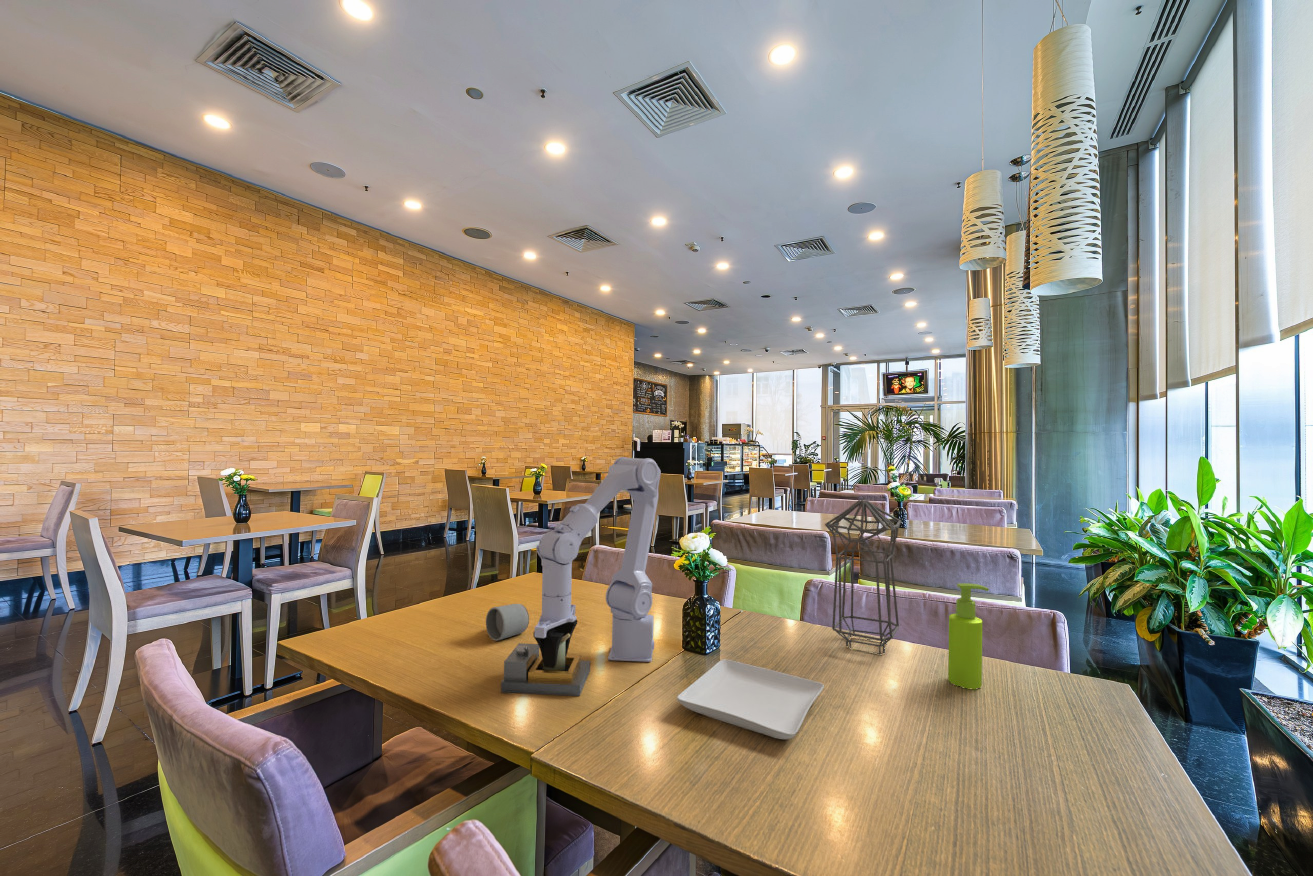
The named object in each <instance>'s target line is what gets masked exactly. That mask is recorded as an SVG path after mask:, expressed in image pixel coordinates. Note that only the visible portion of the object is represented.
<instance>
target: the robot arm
mask: <svg viewBox="0 0 1313 876" xmlns="http://www.w3.org/2000/svg"><path fill="white" fill-rule="evenodd" d="M661 472H662V471H661V469H660V467H659V466H658V463H656V461H655V460H654V459H653V458H649V457H648V458H647V457H646V458H637V457H626V456H620V457H618V458H616V460H615V461H614V462H613V464H612V465H611V464H610V466H609V467H608V473H607V475H606V476H605V477H604V479H603V480H601V483H599V485H598V486H597V488H596V489H595V490H594V492H593V493H591V495H590V496H589V497H588V499H587V501H585V503H578V504H576V505H572V506H571V507H570V508H569V513H568V514H566V516H565V517H564V518H563V519H561V521H560V523H559V524H558V523H557V524H556V525H555V527H554V529H553V530H550V531H547V532H546V533H544V534H543V535H542V537H541V538H540V540H539V542H538V545H536V552H537V554H538V556H539V558H540V559H541V566H542V572H541V573H542V577H541V578H542V579H541V581H542V583H541V615H540V617H539V620H538V622H537V624H536V625H535V626H534V631H533V638H534V639H535V641H536V644H538V645H539V652H540V654H542V659H543V663H544V667H548V668H555V666H556V663H557V656H558V649H559V645H560V642H561V639H562V637H564V636H565V635H566V634H570V637H569V638H568V639H567V640H566V645H565V657H566V655H568V651H569V647H570V643H571V639H572V636H573V633H574V631H575V628H576V627H577V625H578V619H577V615H576V607H577V606H576V604H572V584H573V583H572V575H573V574H572V570H573V569H572V568H573V566H572V565H573V561H574V560H575V559H576V558H577V556H578V554H579V551H580V547H581V544H582V541H583V540H584V539H585V538H586V537H587V535H588V534H589V533H590V532H591V530H593V528H594V527H595V526H596V525H597V524H598V522H599V520H598V519H599V518H598V514H599V513H600V512H601V511H602V510H603V509H604V508H605V507H606V506H607V505H608V504H609V503H610V502H611V501H612V500H613V499H614V498H615V497H616V496H617V495H618V494H619V493H621V491H626V492H627V493H628V494H629V495H630V497H631V499H633V503H632V509H631V514H630V519H629V525H628V532H627V535H626V541H625V546H624V547H625V548H624V551H623V552H624V553H623V558H622V563H621V568H620V569H619V570H618V571H616V572H615V573H614V574H613V575H612V577H611V581H610V585H608V587H607V589H606V593H605V602H606V604H607V606H608V607H609V608H610V613H611V614H612V621H611V622H612V623H611V624H612V628H611V629H612V631H611V633H612V634H611V648H610V651H609V654H608V656H607V660H608V661H619V662H620V661H622V662H624V661H625V662H626V661H627V662H648V663H650V662H652V660H653V652H654V650H655V640H654V623H655V621H654V615H652V614H648V613H649V612H650V611H651V608H652V605H653V594H652V592H653V591H652V589H653V582H652V581H651V579H650V578H649V577H648V575H647V574H646V567H647V563H648V558H649V552H650V547H651V542H652V535H653V530H654V524H655V518H656V512H657V507H658V502H659V485H660V479H661V474H662V473H661Z"/></svg>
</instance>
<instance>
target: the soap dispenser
mask: <svg viewBox="0 0 1313 876" xmlns="http://www.w3.org/2000/svg"><path fill="white" fill-rule="evenodd" d="M956 587H957V588H959V589H960V597H959V598H957V599H956V601H955V602H956V603H955V605H956V606H955V613H952V614H949V615H948V658H947V661H948V666H947V680H948V679H949V680H948V682H949V681H950V682H951V683H950V682H949V683H950V684H952V683H953V684H955V685H954V686H956V685H957V686H956V687H958V686H961V687H964V688H963V689H965V688H972V689H971V690H977V689H976V688H980V687H981V686H982V682H983V681H982V680H983V624H984V623H983V620H982V618H979V617H977V616H976V601H975V600H974V599H972V597H971V595H972V590H981V591H985V592H989V591H990V588H988V587H986V586H985V585H981V584H978V583H969V582H968V583H964V582H963V583H962V582H961V583H959V582H958V583H956ZM953 684H952V685H953ZM961 687H960V688H961ZM982 687H983V686H982ZM982 687H981V688H982ZM981 688H980V689H981Z"/></svg>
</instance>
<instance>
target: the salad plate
mask: <svg viewBox="0 0 1313 876" xmlns="http://www.w3.org/2000/svg"><path fill="white" fill-rule="evenodd" d="M824 688H825V685H824V683H822V682H819V681H815V680H812V679H807V678H804V677H801V676H797V675H792V674H788V673H784V672H780V671H777V670H773V669H768V668H765V667H761V666H757V665H756V666H755V665H753V664H748V663H745V662H739V661H735V660H731V659H725V658H724V659H721V660H719V661H718V662H716V663H715V664H714V665H713V666H712V667H711V668H709V669H708V670H707V671H706V672H705V673H703V674H702V675H701V676H700V677H698V679H696V680H694V682H692V683H691V684H690V685H689V686H687V687H686V688H685V689H684V690H682V692H680V693H679V694H678V695H677V696H676V700H677V702H679V703H680V704H681V706H683V707H685V708H686V709H687V710H690V711H693V712H695V713H698V714H701V715H703V716H706V717H709V718H710V719H711V718H712V719H714V720H717V721H721V722H724V723H727V724H729V725H732V726H735V727H740V728H742V729H744V730H745V729H746V730H748V731H752V732H755V733H758V734H761V735H766V736H768V737H771V738H775V739H779V740H791V739H792V738H795V736H796V735H797V733H798V731H799V730H800V728H801V726H802V725H803V722H804V721H805V720H804V719H805V718H806V715H807V714H808V712H809V710H810V708H811V706H812V705H813V703H814V702H815V700H817V698H818V697H819V696H820V694H821V692H823V690H824Z"/></svg>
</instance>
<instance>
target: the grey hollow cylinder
mask: <svg viewBox="0 0 1313 876" xmlns="http://www.w3.org/2000/svg"><path fill="white" fill-rule="evenodd" d="M485 616H486V617H485V629H486V631H487V634H488V636H489V638H490V639H491V640H493V641H496V642H498V641H501V640H504V639H508V638H511V637H513V636H518V635H520V634H522V633H524V632H526V630H527V629H528V628H529V625H530V614H529V611H528V609H527V608H526V606H525V605H523V603H522V604H521V603H512V604H505V605H501V606H493V607H492V608H490V609H489V610H488V612H487V614H486V615H485Z"/></svg>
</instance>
